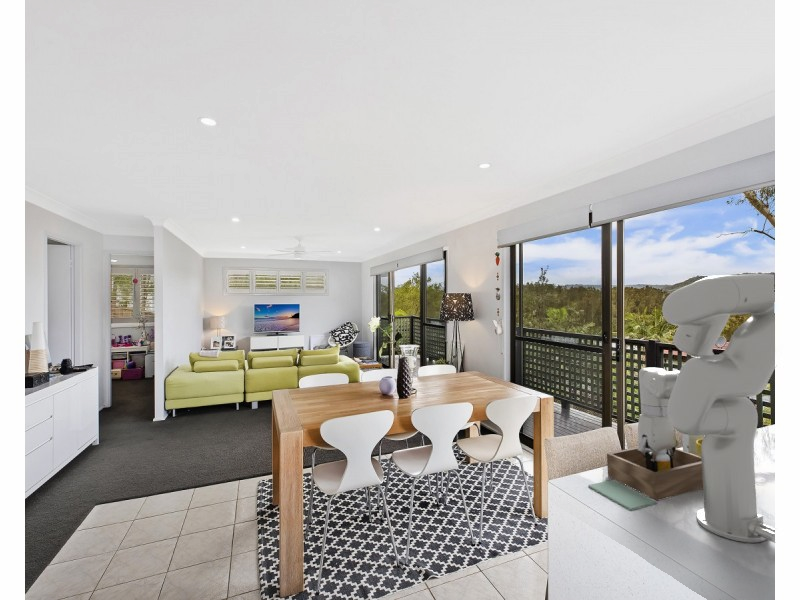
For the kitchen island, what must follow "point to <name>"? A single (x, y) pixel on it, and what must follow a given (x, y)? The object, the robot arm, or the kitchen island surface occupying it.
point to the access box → (656, 473)
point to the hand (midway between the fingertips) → (659, 471)
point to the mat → (622, 494)
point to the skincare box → (691, 443)
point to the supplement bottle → (662, 460)
